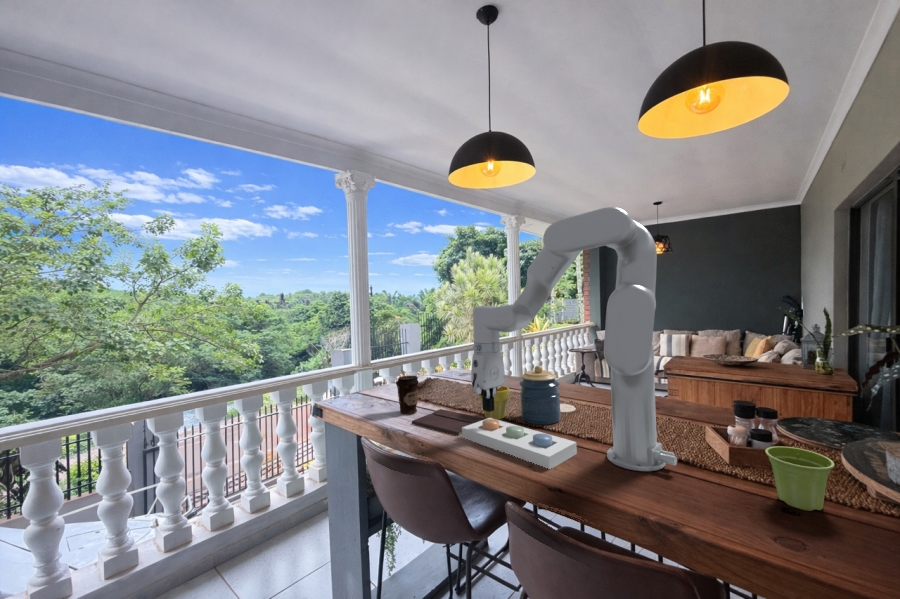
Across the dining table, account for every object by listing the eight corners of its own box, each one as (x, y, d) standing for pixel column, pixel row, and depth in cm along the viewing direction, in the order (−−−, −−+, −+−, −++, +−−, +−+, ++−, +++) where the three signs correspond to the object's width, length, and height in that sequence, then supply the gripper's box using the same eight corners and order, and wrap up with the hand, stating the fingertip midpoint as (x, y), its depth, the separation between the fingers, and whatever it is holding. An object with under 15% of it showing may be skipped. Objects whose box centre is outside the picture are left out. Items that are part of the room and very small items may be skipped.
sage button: (527, 439, 102) (527, 428, 102) (516, 444, 99) (516, 433, 99) (514, 435, 106) (513, 424, 106) (502, 440, 103) (502, 429, 103)
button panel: (576, 453, 95) (576, 442, 95) (549, 469, 87) (549, 456, 87) (490, 427, 118) (489, 417, 118) (462, 437, 110) (461, 427, 110)
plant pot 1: (500, 410, 135) (499, 383, 135) (516, 418, 126) (514, 389, 126) (474, 414, 131) (473, 387, 131) (489, 423, 122) (487, 393, 122)
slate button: (556, 448, 96) (555, 436, 96) (545, 454, 93) (544, 442, 93) (540, 443, 99) (540, 432, 99) (529, 448, 96) (529, 437, 96)
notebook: (457, 437, 112) (457, 431, 112) (411, 425, 124) (411, 419, 124) (486, 423, 123) (486, 417, 123) (441, 413, 136) (441, 408, 136)
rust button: (502, 431, 109) (502, 421, 109) (491, 436, 106) (491, 425, 106) (490, 428, 113) (490, 418, 113) (479, 432, 110) (478, 422, 110)
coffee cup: (425, 410, 139) (423, 375, 139) (411, 417, 132) (409, 380, 132) (406, 408, 143) (405, 374, 143) (392, 414, 136) (390, 378, 136)
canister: (513, 417, 127) (510, 365, 127) (543, 410, 132) (541, 360, 132) (537, 428, 115) (534, 370, 115) (569, 420, 121) (567, 366, 121)
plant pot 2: (833, 499, 70) (831, 453, 70) (839, 524, 63) (836, 472, 63) (768, 485, 76) (766, 442, 76) (766, 505, 69) (764, 458, 69)
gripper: (478, 352, 102) (479, 419, 102) (513, 346, 112) (514, 407, 112) (459, 349, 107) (461, 413, 108) (494, 344, 117) (496, 402, 117)
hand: (488, 410), depth 110 cm, fingers closed
